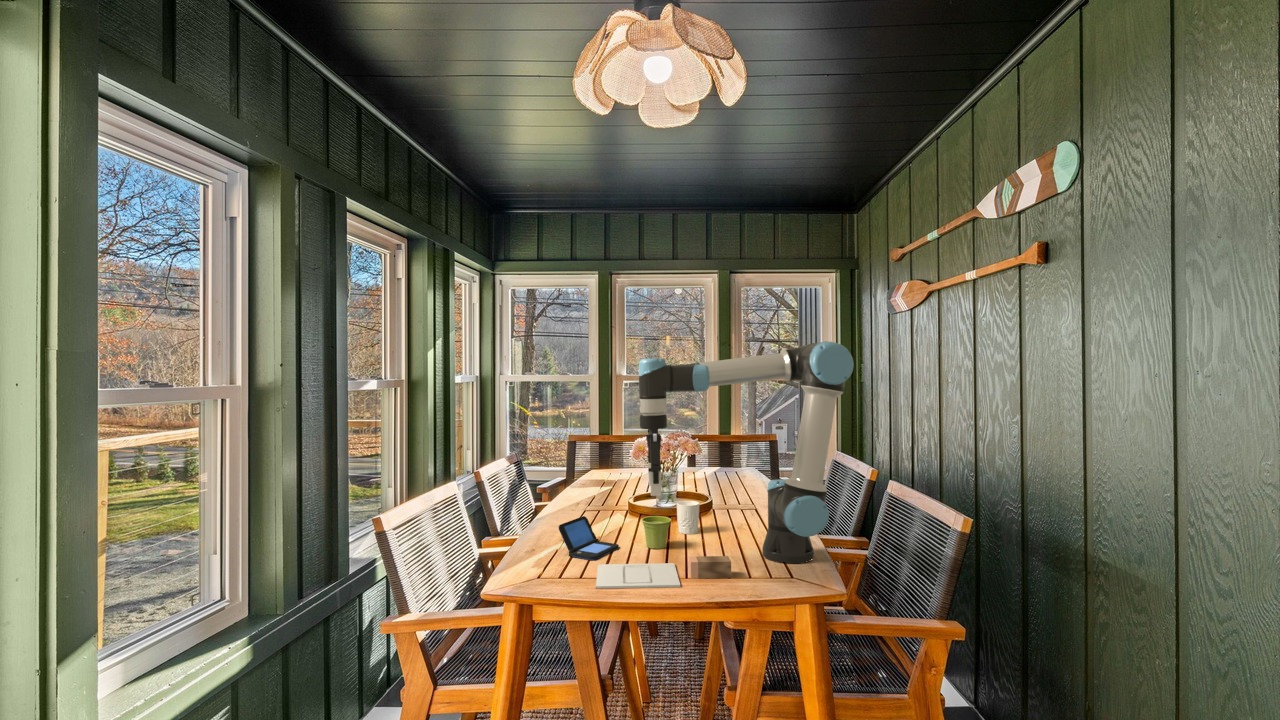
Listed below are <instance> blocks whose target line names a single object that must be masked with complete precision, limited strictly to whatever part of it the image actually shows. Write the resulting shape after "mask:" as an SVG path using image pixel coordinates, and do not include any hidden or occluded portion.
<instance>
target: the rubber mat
mask: <svg viewBox="0 0 1280 720" xmlns="http://www.w3.org/2000/svg"><path fill="white" fill-rule="evenodd" d="M675 564H676V563H672V562H668V563H666V562H665V563H663V562H662V563H612V564H611V563H607V564H606V563H603V564H601V563H600V564H597V571H596V579H595V580H596V581H595V589H651V588H652V589H653V588H656V589H657V588H659V589H660V588H662V589H663V588H664V589H665V588H681V583H680V579H679V575H678V572H677V569H676V565H675Z"/></svg>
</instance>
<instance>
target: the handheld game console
mask: <svg viewBox="0 0 1280 720" xmlns="http://www.w3.org/2000/svg"><path fill="white" fill-rule="evenodd" d="M558 531H559V533H560V535H561V538H562V539H563V542H564V544H565V547H566V548H567V550H568V557H569V556H570V558H576V559H581V558H582V559H583V560H587V559H588V561H596V560H597V559H601V557H604V556H606V555H608V554H610V553H612V552H614V551H616V550H619V547H620V546H619V545H620V544H617V543H611V542H605V541H599V539H598V538H597V536H596V534H595V532H594V531H593V527H592V526H591V523H590V522H589V520H588V518H587V516H585V515H584V516H579V517H578V518H574V519H572V520H569V521H567V522H564V523H561V524H559V525H558Z"/></svg>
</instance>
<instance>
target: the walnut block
mask: <svg viewBox="0 0 1280 720" xmlns="http://www.w3.org/2000/svg"><path fill="white" fill-rule="evenodd" d="M689 574H690V575H689ZM688 575H689V577H691V578H690V580H693V579H699V580H701V579H732V560H731V559H730V556H728V555H715V556H713V555H710V556H709V555H708V556H700V555H699V556H697V555H696V556H688Z"/></svg>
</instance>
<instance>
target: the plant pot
mask: <svg viewBox="0 0 1280 720" xmlns="http://www.w3.org/2000/svg"><path fill="white" fill-rule="evenodd" d="M641 522H642V524H643V529H644V535H645V542H646V543H645V544H646V547H647V548H649V549H656V550H660V549H664V548H666V546H667V540H668V531H669V527H670V523H671V522H672V518H670V517H667V516H663V515H662V516H660V515H649V516H644V517H642V518H641Z"/></svg>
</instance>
